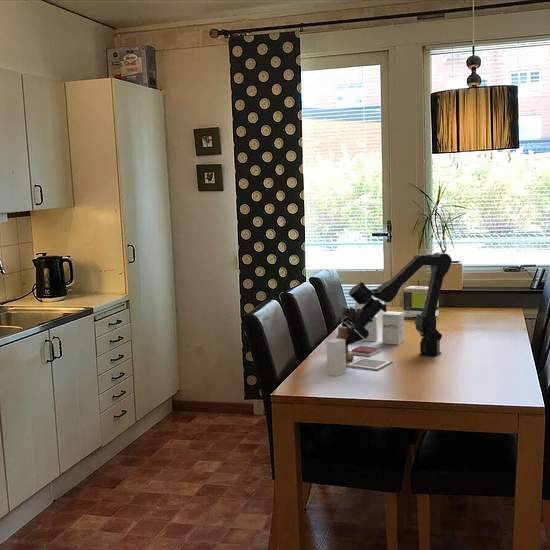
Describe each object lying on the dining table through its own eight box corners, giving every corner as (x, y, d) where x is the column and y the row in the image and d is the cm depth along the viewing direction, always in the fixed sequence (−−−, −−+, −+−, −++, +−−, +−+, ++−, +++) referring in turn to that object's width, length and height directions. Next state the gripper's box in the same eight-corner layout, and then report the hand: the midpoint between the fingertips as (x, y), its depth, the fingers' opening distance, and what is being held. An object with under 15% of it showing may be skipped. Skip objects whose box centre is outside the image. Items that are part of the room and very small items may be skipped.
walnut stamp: (348, 357, 264) (348, 325, 263) (353, 361, 258) (352, 328, 257) (333, 358, 263) (333, 326, 262) (337, 362, 257) (337, 329, 256)
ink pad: (380, 351, 272) (380, 347, 272) (370, 356, 265) (370, 352, 265) (360, 349, 277) (359, 345, 277) (349, 354, 270) (349, 349, 270)
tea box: (439, 316, 343) (439, 286, 342) (432, 319, 335) (432, 289, 333) (410, 313, 351) (410, 285, 350) (402, 317, 343) (402, 287, 341)
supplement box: (381, 343, 287) (381, 313, 285) (387, 340, 293) (387, 310, 292) (399, 345, 283) (399, 314, 282) (404, 341, 290) (404, 311, 288)
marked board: (393, 362, 255) (393, 361, 255) (377, 371, 244) (377, 369, 244) (361, 358, 262) (361, 357, 262) (345, 366, 251) (345, 364, 251)
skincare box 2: (378, 338, 297) (378, 314, 296) (376, 341, 291) (376, 316, 290) (354, 337, 300) (353, 313, 299) (351, 340, 294) (351, 316, 292)
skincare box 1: (336, 370, 246) (335, 337, 244) (346, 372, 243) (345, 339, 242) (326, 374, 241) (325, 341, 240) (336, 376, 238) (336, 342, 237)
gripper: (346, 294, 268) (318, 324, 267) (360, 302, 249) (330, 334, 249) (365, 313, 270) (338, 343, 270) (381, 322, 252) (352, 354, 251)
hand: (339, 343), depth 260 cm, fingers open, 9 cm apart
